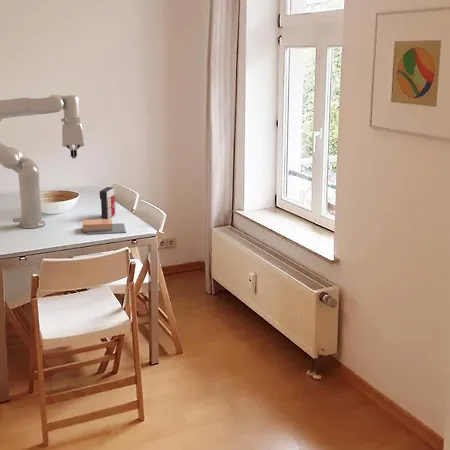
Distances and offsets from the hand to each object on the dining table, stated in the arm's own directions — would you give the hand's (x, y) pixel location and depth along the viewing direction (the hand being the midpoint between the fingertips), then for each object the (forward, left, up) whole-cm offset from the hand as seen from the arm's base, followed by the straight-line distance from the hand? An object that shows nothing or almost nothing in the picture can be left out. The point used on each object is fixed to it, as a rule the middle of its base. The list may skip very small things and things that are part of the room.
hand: (74, 158), depth 323 cm
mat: (+14, -16, -33) cm, 39 cm away
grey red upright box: (+16, +8, -33) cm, 38 cm away
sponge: (+3, -16, -31) cm, 35 cm away
